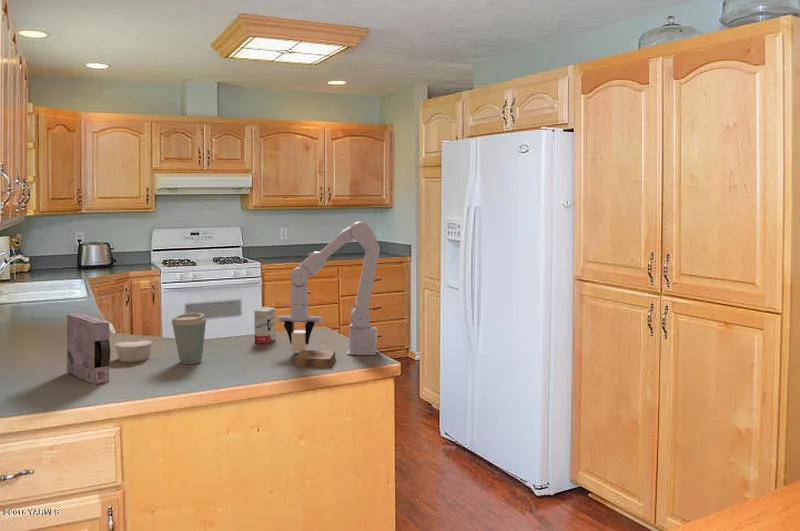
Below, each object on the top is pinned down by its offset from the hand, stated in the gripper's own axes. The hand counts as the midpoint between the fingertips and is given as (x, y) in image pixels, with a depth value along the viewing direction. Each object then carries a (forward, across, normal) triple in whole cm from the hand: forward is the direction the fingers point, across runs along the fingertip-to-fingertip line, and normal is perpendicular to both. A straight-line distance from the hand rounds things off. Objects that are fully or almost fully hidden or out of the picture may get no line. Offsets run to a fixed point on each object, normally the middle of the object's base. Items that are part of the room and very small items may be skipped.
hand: (299, 343), depth 234 cm
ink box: (+3, +16, -17) cm, 24 cm away
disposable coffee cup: (+3, +32, +15) cm, 36 cm away
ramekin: (+3, +51, +13) cm, 53 cm away
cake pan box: (+3, +54, +36) cm, 65 cm away
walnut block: (+4, -7, +12) cm, 14 cm away
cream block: (+2, 0, 0) cm, 2 cm away
